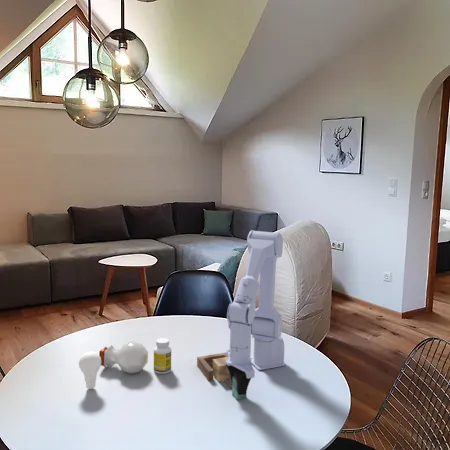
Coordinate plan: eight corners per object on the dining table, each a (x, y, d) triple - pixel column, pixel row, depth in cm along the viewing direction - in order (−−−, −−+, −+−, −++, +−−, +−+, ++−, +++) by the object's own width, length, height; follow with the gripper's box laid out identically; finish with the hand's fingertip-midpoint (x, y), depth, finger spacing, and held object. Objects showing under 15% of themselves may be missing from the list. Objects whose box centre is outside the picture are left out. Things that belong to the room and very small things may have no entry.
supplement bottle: (168, 375, 139) (168, 344, 137) (151, 373, 140) (151, 343, 138) (173, 367, 144) (173, 337, 143) (157, 365, 145) (157, 336, 144)
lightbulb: (106, 385, 132) (105, 349, 130) (93, 396, 126) (92, 358, 125) (88, 382, 134) (87, 346, 132) (75, 392, 128) (73, 355, 126)
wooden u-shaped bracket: (226, 361, 149) (226, 352, 149) (239, 375, 139) (239, 366, 139) (197, 366, 145) (197, 357, 145) (208, 381, 136) (208, 371, 135)
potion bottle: (147, 380, 138) (104, 378, 143) (156, 351, 145) (114, 350, 150) (136, 364, 132) (91, 363, 137) (146, 335, 139) (103, 335, 144)
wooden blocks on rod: (227, 372, 141) (227, 355, 141) (249, 397, 127) (250, 378, 126) (212, 374, 140) (212, 357, 139) (233, 400, 125) (233, 381, 124)
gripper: (217, 336, 130) (216, 381, 132) (237, 357, 117) (236, 406, 119) (239, 333, 133) (238, 377, 135) (262, 353, 120) (260, 401, 122)
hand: (239, 390), depth 127 cm, fingers closed on wooden blocks on rod, 3 cm apart
